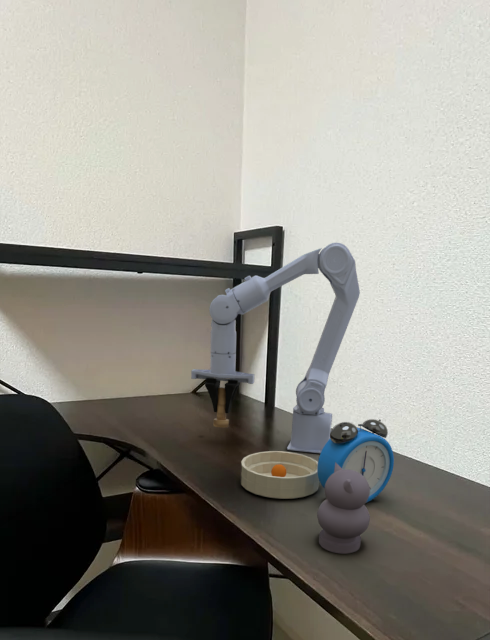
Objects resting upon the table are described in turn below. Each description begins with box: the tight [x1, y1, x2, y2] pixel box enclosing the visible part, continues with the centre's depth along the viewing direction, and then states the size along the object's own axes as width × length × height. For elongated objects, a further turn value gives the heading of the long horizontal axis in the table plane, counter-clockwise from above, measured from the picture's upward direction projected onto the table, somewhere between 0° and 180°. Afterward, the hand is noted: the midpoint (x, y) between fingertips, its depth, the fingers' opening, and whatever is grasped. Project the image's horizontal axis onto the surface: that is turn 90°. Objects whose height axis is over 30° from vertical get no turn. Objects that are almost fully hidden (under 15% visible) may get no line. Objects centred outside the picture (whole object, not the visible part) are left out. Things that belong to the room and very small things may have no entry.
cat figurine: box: [316, 462, 371, 554], centre depth 78 cm, size 9×8×12 cm
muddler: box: [213, 386, 230, 428], centre depth 121 cm, size 4×4×9 cm
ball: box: [271, 464, 286, 477], centre depth 102 cm, size 3×3×3 cm
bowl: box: [240, 450, 320, 500], centre depth 100 cm, size 15×15×4 cm
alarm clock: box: [317, 418, 395, 504], centre depth 93 cm, size 13×6×15 cm, turn 118°
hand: (222, 411), depth 122 cm, fingers closed on muddler, 2 cm apart
